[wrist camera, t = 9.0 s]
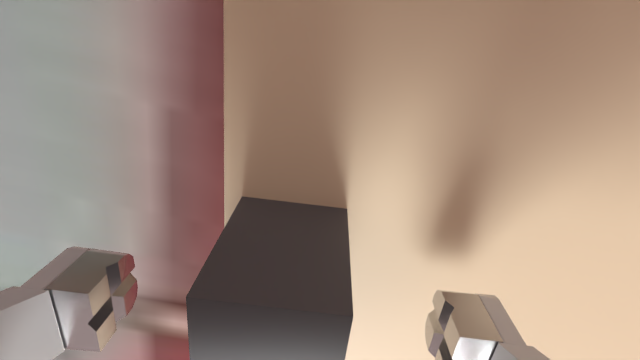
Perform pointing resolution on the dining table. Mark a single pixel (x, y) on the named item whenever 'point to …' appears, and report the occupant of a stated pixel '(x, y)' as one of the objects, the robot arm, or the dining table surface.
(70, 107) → the dining table surface
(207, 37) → the dining table surface
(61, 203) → the dining table surface
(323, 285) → the carton lid
